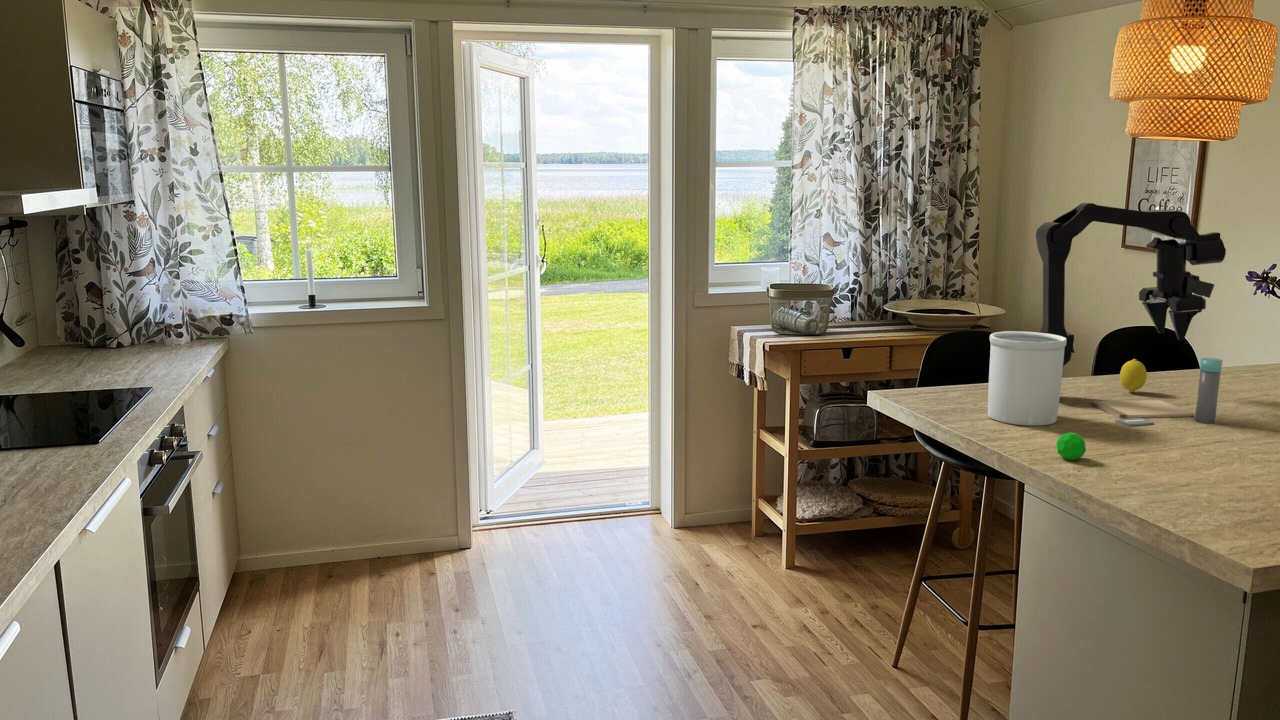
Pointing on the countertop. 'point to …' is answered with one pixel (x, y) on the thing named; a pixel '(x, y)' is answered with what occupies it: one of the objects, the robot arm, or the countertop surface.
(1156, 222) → the robot arm
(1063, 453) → the polyhedron
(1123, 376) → the lemon
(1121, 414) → the notepad
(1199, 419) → the marker
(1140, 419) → the word tile
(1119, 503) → the countertop surface
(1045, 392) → the utensil holder
